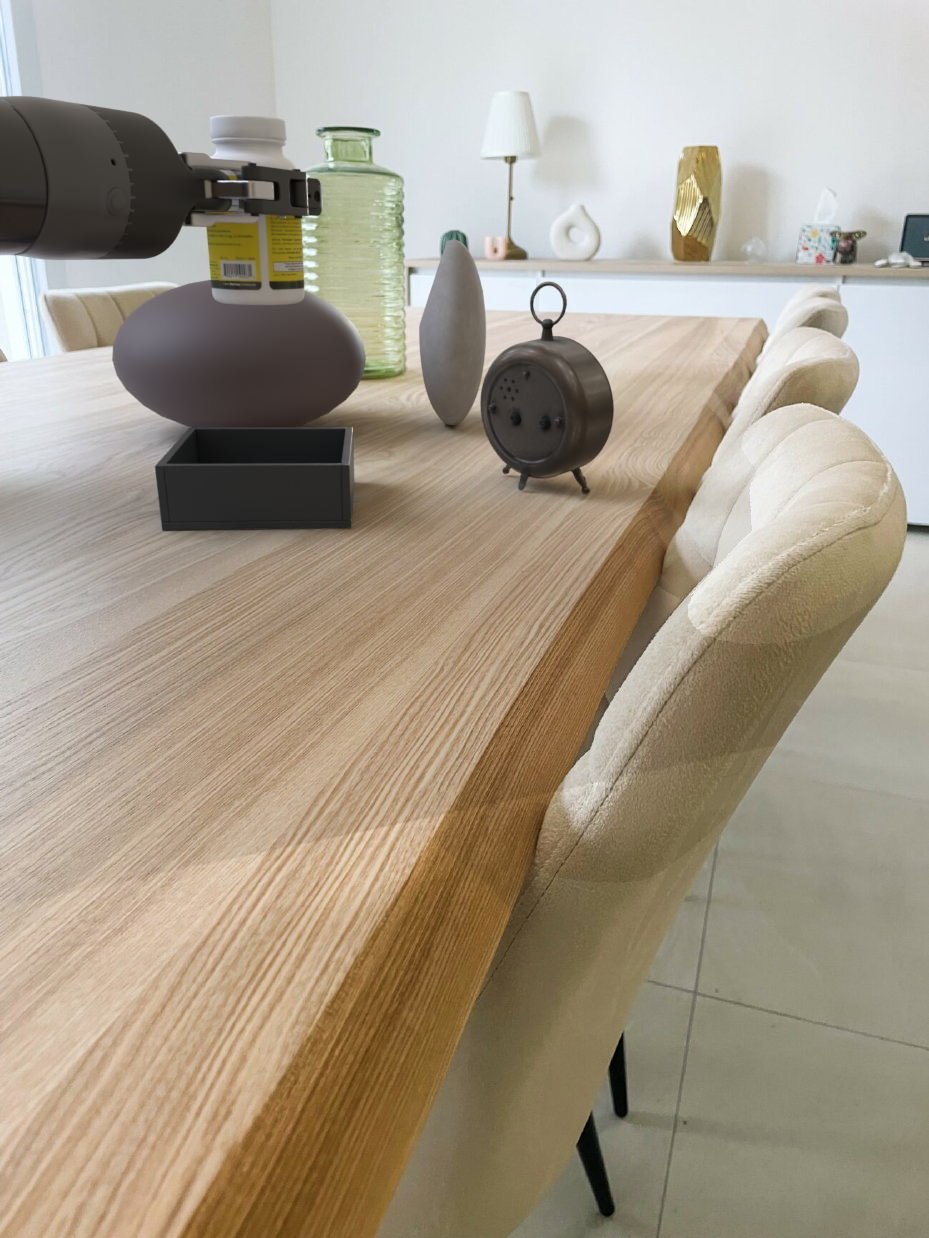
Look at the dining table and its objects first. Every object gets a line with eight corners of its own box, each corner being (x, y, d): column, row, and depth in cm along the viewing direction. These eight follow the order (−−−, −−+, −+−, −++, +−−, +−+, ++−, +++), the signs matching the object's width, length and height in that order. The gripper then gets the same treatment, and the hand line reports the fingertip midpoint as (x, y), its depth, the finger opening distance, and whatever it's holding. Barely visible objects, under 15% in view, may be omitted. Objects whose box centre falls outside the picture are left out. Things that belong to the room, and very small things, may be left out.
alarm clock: (610, 493, 76) (627, 284, 70) (572, 506, 73) (586, 286, 66) (507, 470, 83) (514, 277, 77) (467, 480, 79) (471, 279, 73)
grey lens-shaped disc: (421, 407, 111) (421, 238, 103) (480, 408, 111) (484, 239, 104) (416, 440, 94) (416, 240, 86) (486, 441, 94) (492, 242, 86)
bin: (161, 530, 65) (154, 465, 63) (194, 482, 77) (189, 427, 75) (351, 528, 66) (349, 465, 64) (354, 481, 78) (352, 427, 76)
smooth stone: (355, 459, 86) (351, 288, 80) (84, 454, 86) (60, 282, 80) (376, 410, 109) (374, 275, 103) (162, 406, 108) (148, 270, 102)
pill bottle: (295, 299, 67) (287, 126, 62) (313, 306, 61) (307, 117, 57) (206, 299, 64) (192, 120, 60) (217, 306, 59) (203, 110, 55)
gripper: (169, 96, 44) (364, 132, 58) (-30, 107, 50) (189, 137, 64) (183, 264, 47) (366, 260, 61) (-6, 255, 53) (199, 254, 67)
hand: (275, 197), depth 62 cm, fingers closed on pill bottle, 6 cm apart
